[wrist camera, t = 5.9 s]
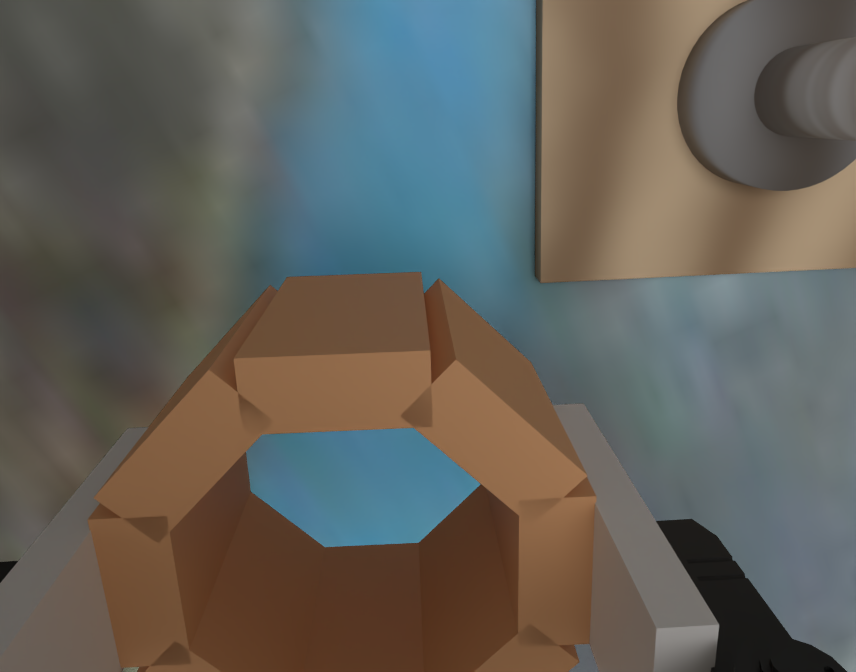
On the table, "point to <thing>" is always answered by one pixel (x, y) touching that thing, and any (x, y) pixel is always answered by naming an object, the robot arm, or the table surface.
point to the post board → (645, 166)
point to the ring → (350, 565)
